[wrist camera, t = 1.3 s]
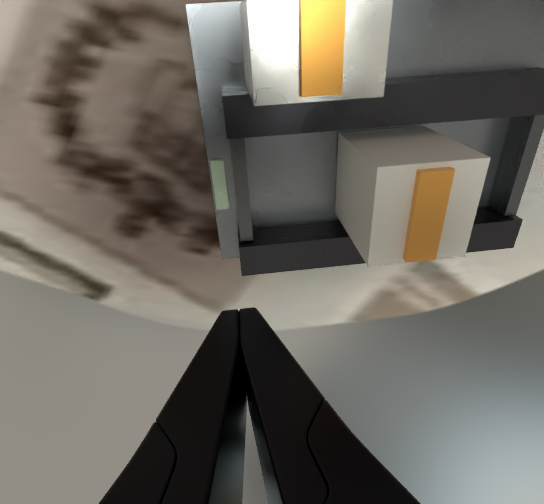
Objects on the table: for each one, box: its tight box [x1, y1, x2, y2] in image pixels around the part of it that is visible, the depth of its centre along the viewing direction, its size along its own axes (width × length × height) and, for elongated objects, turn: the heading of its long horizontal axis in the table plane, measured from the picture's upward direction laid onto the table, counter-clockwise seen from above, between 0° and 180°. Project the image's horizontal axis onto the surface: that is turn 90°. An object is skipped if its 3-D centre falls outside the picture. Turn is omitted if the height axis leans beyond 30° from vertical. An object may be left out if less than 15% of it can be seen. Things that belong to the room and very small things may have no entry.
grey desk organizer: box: [186, 0, 544, 276], centre depth 15 cm, size 16×11×6 cm
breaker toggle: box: [335, 126, 491, 266], centre depth 16 cm, size 4×4×5 cm
